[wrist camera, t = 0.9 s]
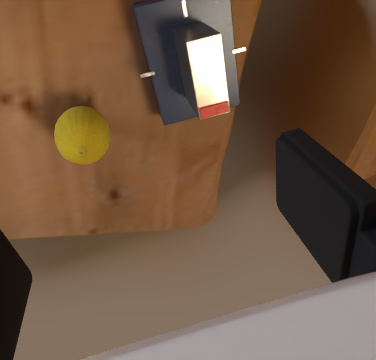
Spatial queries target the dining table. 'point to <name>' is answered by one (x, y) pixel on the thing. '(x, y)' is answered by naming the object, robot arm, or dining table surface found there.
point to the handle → (202, 69)
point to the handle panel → (167, 55)
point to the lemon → (82, 135)
